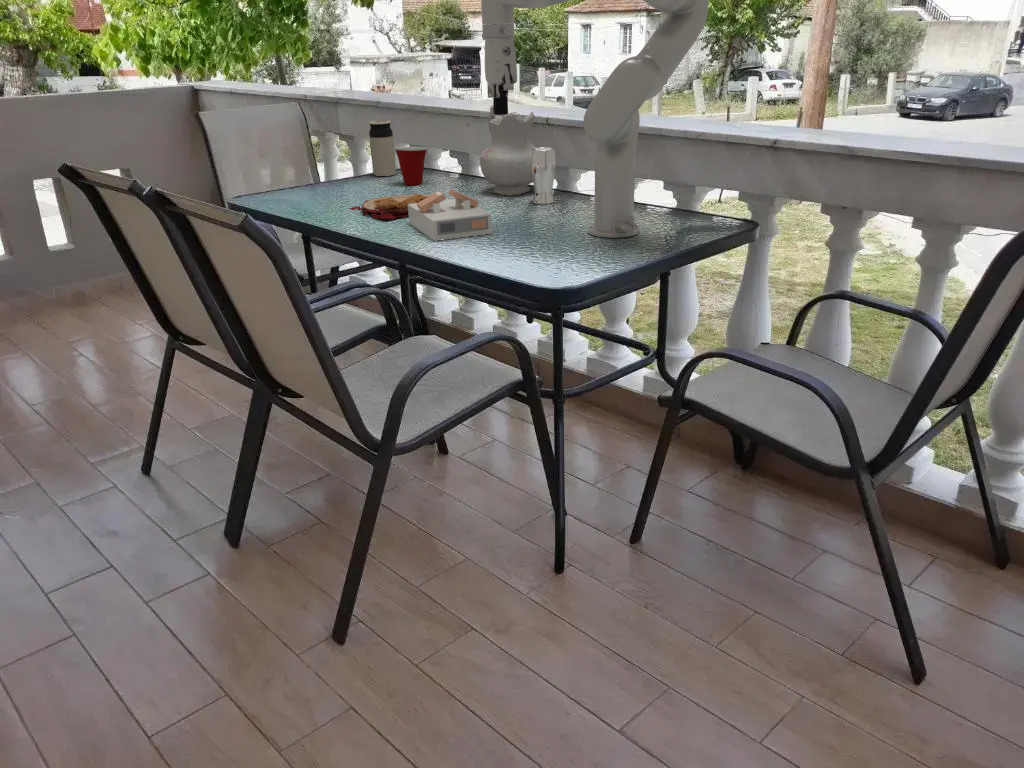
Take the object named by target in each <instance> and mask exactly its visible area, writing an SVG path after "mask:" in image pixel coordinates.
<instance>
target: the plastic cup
mask: <svg viewBox="0 0 1024 768" xmlns="http://www.w3.org/2000/svg"><path fill="white" fill-rule="evenodd" d="M427 150H428V147H425V146H396V147H395V146H394V151H395V152H396V156H397V159H398V164H399V168H400V172H401V175H402V180H403V183H404V186H411V187H413V186H421V185H422V184H423V179H424V173H425V172H424V170H425V169H424V168H425V161H426V160H425V158H426V154H427Z"/></svg>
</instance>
